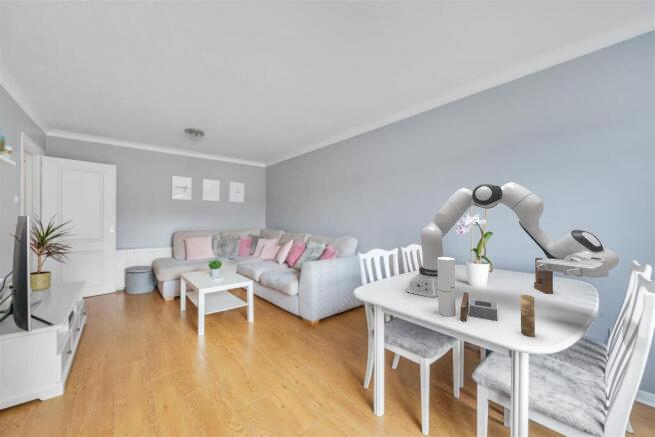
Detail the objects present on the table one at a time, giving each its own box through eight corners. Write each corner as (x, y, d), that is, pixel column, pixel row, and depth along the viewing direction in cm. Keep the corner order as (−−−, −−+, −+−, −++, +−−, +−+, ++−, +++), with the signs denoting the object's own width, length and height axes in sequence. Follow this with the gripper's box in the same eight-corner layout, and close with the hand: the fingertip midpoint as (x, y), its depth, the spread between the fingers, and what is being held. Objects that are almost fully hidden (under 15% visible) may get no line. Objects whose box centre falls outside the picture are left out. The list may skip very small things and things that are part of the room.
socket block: (469, 316, 109) (469, 305, 109) (470, 309, 117) (470, 298, 117) (497, 321, 103) (497, 309, 103) (496, 313, 112) (496, 302, 112)
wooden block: (545, 293, 135) (545, 260, 135) (533, 287, 146) (533, 257, 145) (553, 294, 134) (553, 261, 134) (541, 288, 145) (540, 257, 144)
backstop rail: (460, 320, 104) (460, 306, 104) (464, 304, 123) (463, 292, 123) (466, 321, 103) (466, 307, 103) (468, 304, 122) (468, 292, 122)
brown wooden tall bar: (521, 335, 91) (521, 297, 91) (520, 330, 95) (519, 294, 94) (535, 337, 89) (535, 299, 89) (533, 333, 93) (533, 295, 92)
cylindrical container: (459, 315, 110) (458, 259, 110) (446, 317, 108) (445, 260, 108) (447, 309, 117) (446, 256, 117) (434, 311, 115) (433, 257, 115)
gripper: (549, 254, 108) (524, 259, 105) (611, 260, 88) (582, 266, 85) (551, 268, 108) (526, 273, 105) (614, 277, 88) (584, 284, 85)
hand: (551, 270), depth 95 cm, fingers open, 8 cm apart
